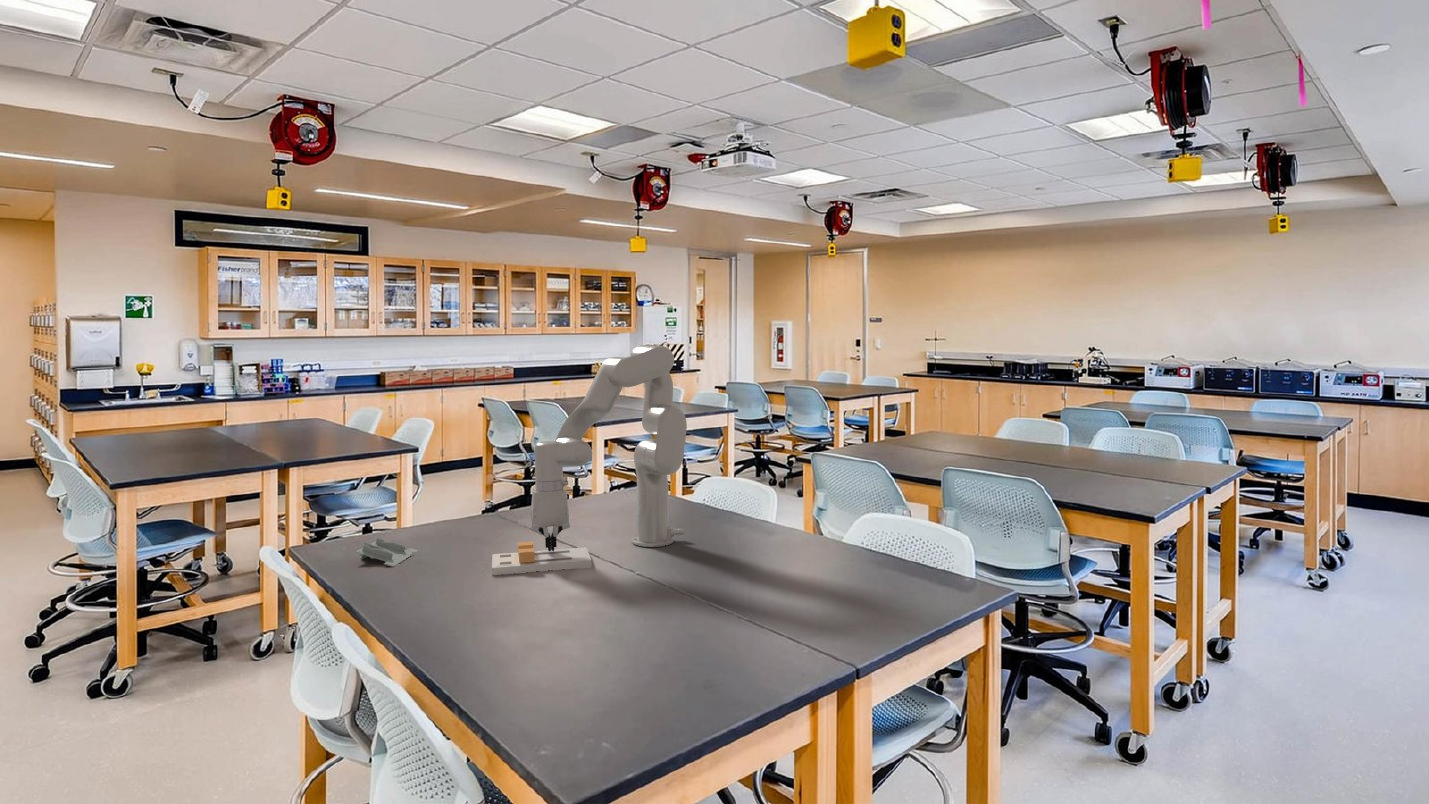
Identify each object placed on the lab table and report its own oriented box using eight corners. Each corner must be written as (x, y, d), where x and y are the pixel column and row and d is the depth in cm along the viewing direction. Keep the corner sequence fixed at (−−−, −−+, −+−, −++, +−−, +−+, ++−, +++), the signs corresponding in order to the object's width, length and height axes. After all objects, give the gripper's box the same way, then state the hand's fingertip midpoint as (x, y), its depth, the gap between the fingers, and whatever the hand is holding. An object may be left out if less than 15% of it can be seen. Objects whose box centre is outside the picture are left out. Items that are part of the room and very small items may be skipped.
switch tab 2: (534, 558, 208) (533, 548, 208) (534, 561, 204) (534, 551, 204) (518, 559, 207) (518, 549, 207) (519, 563, 203) (519, 552, 203)
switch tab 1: (532, 551, 215) (532, 541, 214) (533, 554, 211) (533, 544, 211) (518, 552, 213) (517, 542, 213) (518, 555, 210) (518, 545, 210)
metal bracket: (350, 546, 208) (378, 532, 223) (345, 566, 209) (374, 550, 224) (399, 561, 207) (424, 546, 222) (394, 581, 208) (419, 565, 223)
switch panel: (586, 554, 220) (586, 546, 220) (591, 567, 207) (591, 559, 207) (492, 561, 213) (492, 553, 213) (492, 575, 201) (491, 567, 200)
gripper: (575, 481, 218) (576, 544, 220) (521, 484, 214) (523, 548, 216) (577, 486, 211) (579, 551, 213) (522, 490, 207) (524, 556, 209)
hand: (551, 549), depth 214 cm, fingers closed
